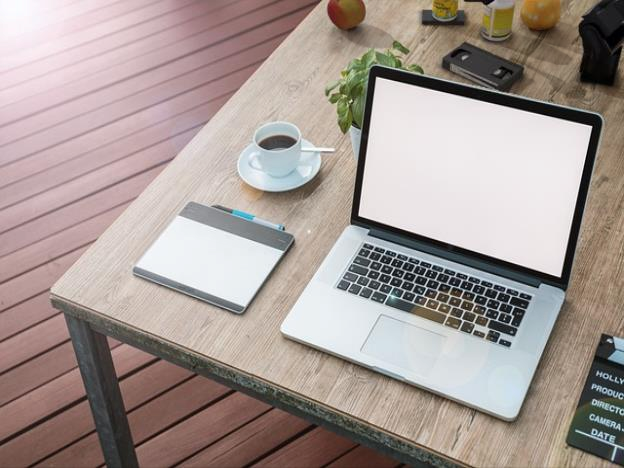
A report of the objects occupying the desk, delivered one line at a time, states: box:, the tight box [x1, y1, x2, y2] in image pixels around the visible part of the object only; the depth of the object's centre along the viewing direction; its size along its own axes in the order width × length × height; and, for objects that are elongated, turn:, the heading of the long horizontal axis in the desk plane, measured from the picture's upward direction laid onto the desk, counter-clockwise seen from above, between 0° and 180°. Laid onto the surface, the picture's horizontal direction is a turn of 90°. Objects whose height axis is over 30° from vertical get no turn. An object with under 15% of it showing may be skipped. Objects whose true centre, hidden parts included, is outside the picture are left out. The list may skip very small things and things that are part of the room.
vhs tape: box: [441, 41, 525, 92], centre depth 167 cm, size 14×8×2 cm, turn 47°
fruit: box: [519, 0, 562, 31], centre depth 176 cm, size 8×8×8 cm
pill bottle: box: [480, 0, 516, 42], centre depth 173 cm, size 6×6×11 cm
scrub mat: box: [421, 9, 466, 26], centre depth 182 cm, size 9×5×1 cm, turn 84°
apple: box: [326, 0, 367, 31], centre depth 178 cm, size 8×8×8 cm
